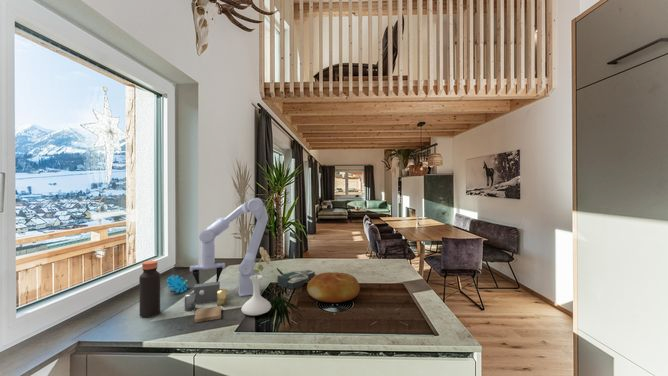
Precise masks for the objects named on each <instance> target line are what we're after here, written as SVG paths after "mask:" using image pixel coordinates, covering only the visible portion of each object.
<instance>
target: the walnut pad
mask: <svg viewBox="0 0 668 376" xmlns="http://www.w3.org/2000/svg"><path fill="white" fill-rule="evenodd" d="M214 319H215V320H220V319H222V307H221V306H212V307H205V308H204V307H203V308H198V309H195V314H194V319H193V322H194V323H202V322H207V321H208V320H209V321H215V320H214Z"/></svg>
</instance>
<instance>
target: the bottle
mask: <svg viewBox="0 0 668 376" xmlns="http://www.w3.org/2000/svg"><path fill="white" fill-rule="evenodd" d="M141 265H142V266H141V267H142V271H143V272H142V273H141V274H140V275H139V284H138V285H139V290H138V291H139V292H138V293H139V296H138V297H139V317H140V318H151V317H154V316H155V317H156V316H157V315H159V313H161V274H160V272H159V271H158V270H157V269H158V261H157V260H147V261H145V262H141Z"/></svg>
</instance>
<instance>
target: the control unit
mask: <svg viewBox="0 0 668 376" xmlns="http://www.w3.org/2000/svg"><path fill="white" fill-rule="evenodd" d="M220 283H221V282H220V281H218V282H216V281H212V282H204V283H200V284H197V283H195V284H194V286H193V293H196V303H198V304H203V302H205V303H211V302H210V301H213V302H217V290H219V289H221V287H220V285H221V284H220Z"/></svg>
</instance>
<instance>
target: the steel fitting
mask: <svg viewBox="0 0 668 376" xmlns="http://www.w3.org/2000/svg"><path fill="white" fill-rule="evenodd" d="M196 305H197V304H196V293H194V292H187V293H185V294H184V312H193V311H195V310H197V309H196V308H197V307H196ZM194 309H195V310H194ZM192 310H193V311H192Z"/></svg>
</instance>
